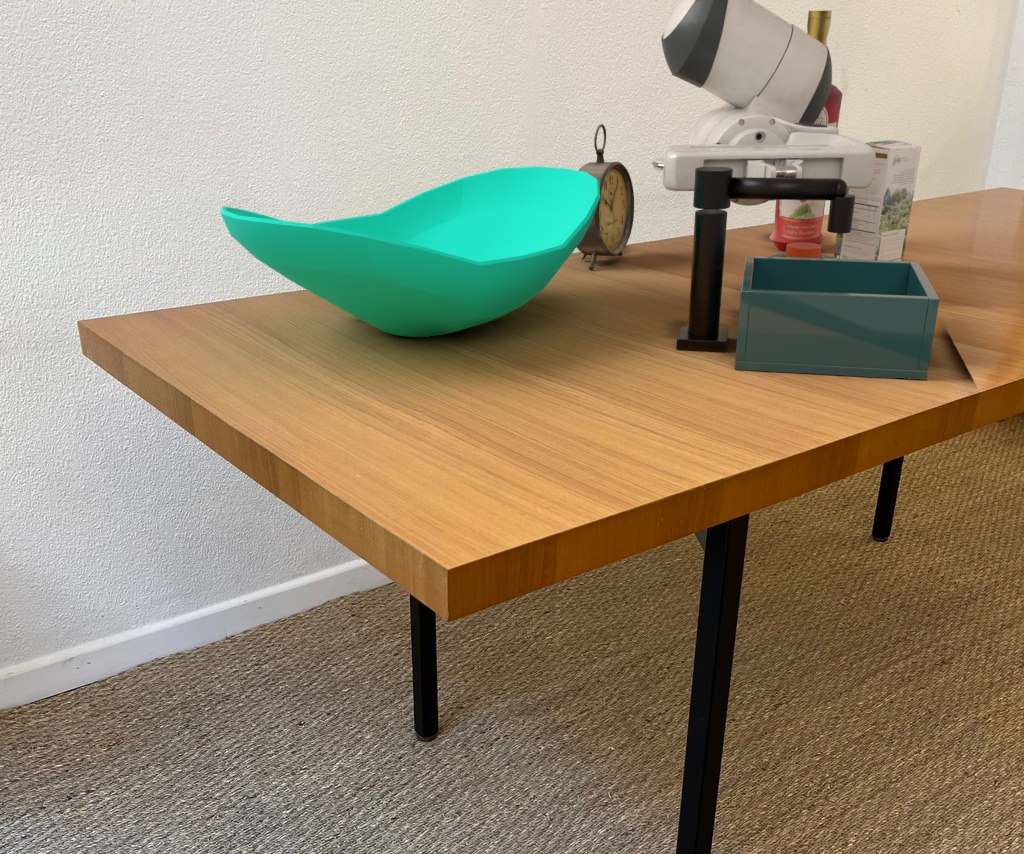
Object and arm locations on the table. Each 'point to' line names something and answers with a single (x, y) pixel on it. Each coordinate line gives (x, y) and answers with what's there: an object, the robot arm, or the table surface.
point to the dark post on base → (706, 285)
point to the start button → (803, 250)
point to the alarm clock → (609, 208)
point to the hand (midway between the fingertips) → (786, 177)
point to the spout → (773, 193)
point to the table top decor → (434, 249)
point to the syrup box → (882, 205)
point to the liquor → (807, 215)
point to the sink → (836, 317)
